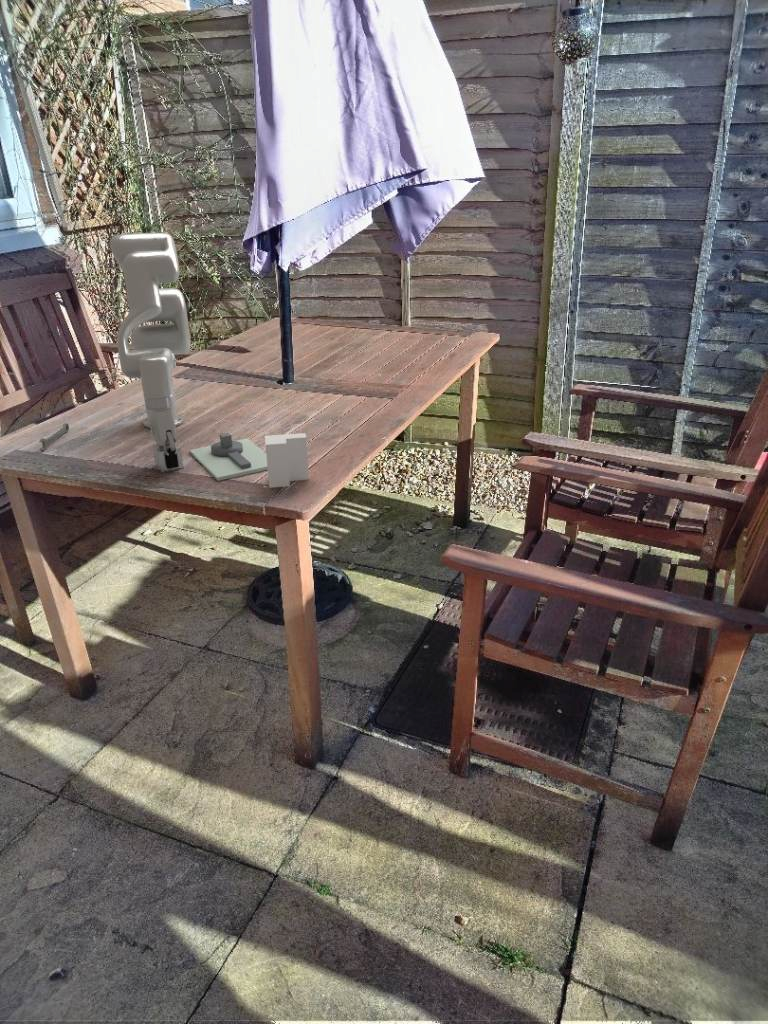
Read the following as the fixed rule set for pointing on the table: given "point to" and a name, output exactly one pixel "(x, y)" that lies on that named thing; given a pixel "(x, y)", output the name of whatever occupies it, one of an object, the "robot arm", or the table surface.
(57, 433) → the combination wrench
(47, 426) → the table surface
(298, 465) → the corner bracket
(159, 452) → the brushed aluminum cube
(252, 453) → the board
